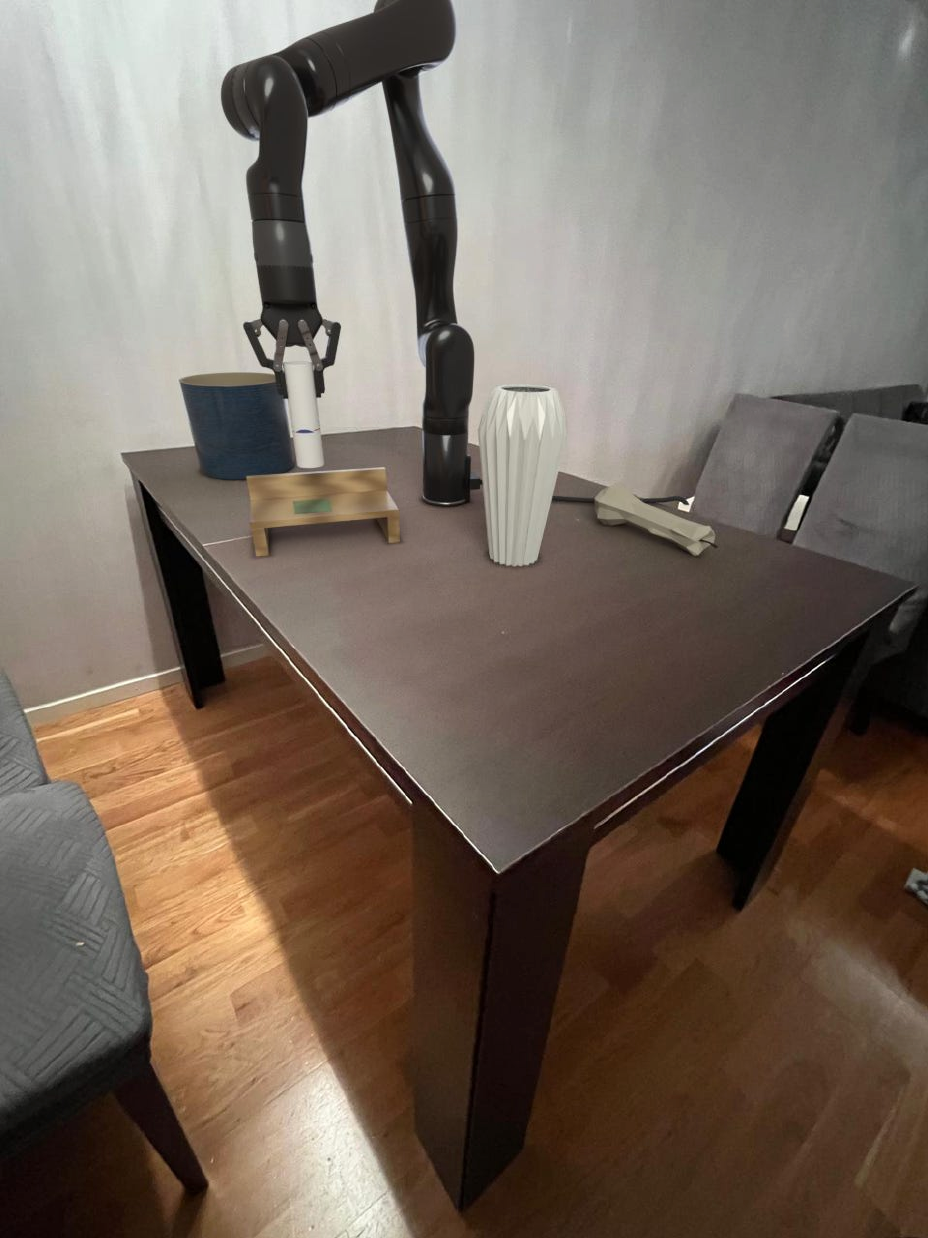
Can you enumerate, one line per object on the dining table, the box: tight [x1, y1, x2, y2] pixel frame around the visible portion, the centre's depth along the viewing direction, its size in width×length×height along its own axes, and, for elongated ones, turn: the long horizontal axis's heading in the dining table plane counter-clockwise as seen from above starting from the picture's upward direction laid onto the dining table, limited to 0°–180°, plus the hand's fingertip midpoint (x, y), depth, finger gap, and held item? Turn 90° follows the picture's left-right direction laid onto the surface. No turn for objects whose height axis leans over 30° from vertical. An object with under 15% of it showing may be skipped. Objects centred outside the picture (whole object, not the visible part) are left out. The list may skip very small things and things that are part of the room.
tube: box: [282, 360, 325, 469], centre depth 85 cm, size 4×4×15 cm
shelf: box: [246, 466, 401, 558], centre depth 95 cm, size 24×12×10 cm, turn 108°
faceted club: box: [594, 480, 719, 557], centre depth 98 cm, size 9×8×25 cm
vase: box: [477, 383, 568, 568], centre depth 85 cm, size 13×13×26 cm
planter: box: [178, 371, 294, 481], centre depth 129 cm, size 22×22×20 cm
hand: (301, 396), depth 83 cm, fingers closed on tube, 4 cm apart
